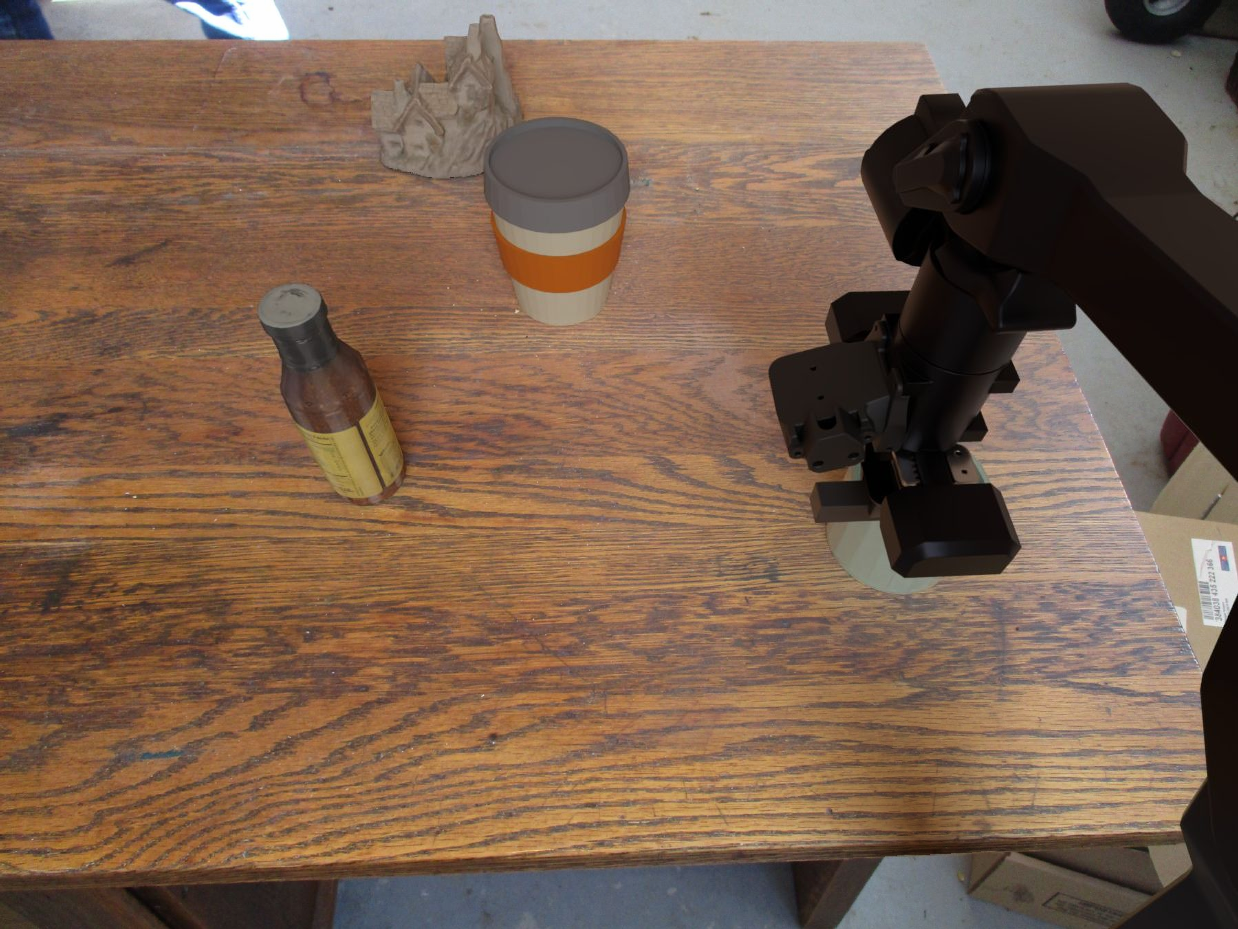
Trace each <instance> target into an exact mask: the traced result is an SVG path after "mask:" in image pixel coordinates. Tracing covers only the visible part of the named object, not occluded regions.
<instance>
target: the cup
mask: <svg viewBox="0 0 1238 929" xmlns="http://www.w3.org/2000/svg"><path fill="white" fill-rule="evenodd" d="M958 444H960V442H958ZM971 456H972V459H973V462H974V464H975V467H976V470H977V473H978V475H979V481H978V482H977V483H991V480H990V477H989V476H988V473H987V472H986V471H985V470H986V469H984V467H983V465H982V463H981V462H980V460H979V459H977V457H975V455H974V454H973V453H971ZM856 480H860V463H859V464H857V465H854V466H850V467H847V469H846V472H845V474H844V477H843V479H842V481H856ZM825 532H826V539H827V544H828V546H829V549H830V551H831V553H832V556H833V557H834V559H835V560H836V561H837V563H838V564H839V566H841V568H842V569H843V570H844V571H845V572H846V573H847V574H849V576H851V577H852V578H853V579H855V580H856V581H858V582H859V583H861V584H862V585H864V586H866V587H868V588H871V589H873V590H876V591H878V592H882V593H886V594H892V595H912V594H918V593H921V592H925V591H927V590H929V589H931V588H932V587H934V586H936V585H937V584H939V583H940V582H941V581H942V580H943V579H944V577H924V578H903V577H902V576H900V575H899V574H897V573H896V572H895V571H893V570H892V569H891V567H890V563H889V560H888V556H887V552H886V549H885V545H884V541H883V537H882V534H881V530H880V521H859V522H833V523H826V528H825Z"/></svg>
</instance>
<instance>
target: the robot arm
mask: <svg viewBox="0 0 1238 929" xmlns="http://www.w3.org/2000/svg"><path fill="white" fill-rule="evenodd" d="M1188 153H1189V143H1188V140H1187V138H1186V136H1185V135H1184V133H1183V131H1181V130H1180V128H1179V127H1178V126H1177V125H1176V124H1175V123H1174V121H1173V120H1172V119H1171V118H1170V116H1168V114H1166V112H1165V111H1164V110H1163V108H1161V106H1160V105H1159V104H1158V103H1157V102H1156V100H1155V99H1154V98H1153V97H1152V96H1151V95H1150V94H1149V93H1148V92H1147V90H1145V89H1144V88H1143V87H1142V86H1139V85H1136V84H1133V83H1130V82H1103V83H1079V84H1078V83H1077V84H1055V85H1028V86H1027V85H1026V86H1025V85H1024V86H1003V87H1002V86H1001V87H1000V86H999V87H982V88H978V89H976V90H974V92H973V93H972V94H971V96H970V98H969V102H968V103H967V105H966V104H965V102H964V100H963V98H962V97H961V95H960V94H959V93H958V92H953V93H952V92H951V93H926V94H925V93H924V94H921V95H920V96H919V98H918V100H917V103H916V107H915V109H914V113H913V114H910V115H908V116H906V117H904V118H901V119H900V120H898V121H896V122H895V123H893V124H892V125H890V126H889V127H887V128H886V129H885V130H884V131H883V132H881V134H879V136H878V137H877V138H876V139H875V140H874V141H873V142H872V144H871V146H870V147H869V148H867V149H866V150H865V151H864V154H863V156H862V159H861V163H860V164H861V165H860V170H859V172H860V177H861V183H862V185H863V187H864V189H865V191H866V194H867V196H868V199H869V201H870V204H871V206H872V208H873V211H874V213H875V215H876V217H877V219H878V220H877V221H878V222H879V224H880V227H881V230H882V231H883V234H884V236H885V239H886V241H887V243H888V246H889V248H890V250H891V253H892V255H893V257H894V259H895V260H896V261H897V262H901V263H903V264H905V265H909V266H911V267H915V268H919V269H918V272H917V274H916V276H915V279H914V281H913V284H912V286H911V288H910V289H906V290H905V289H903V290H902V289H901V290H899V289H898V290H865V291H864V290H862V291H848V292H846V293H844V294H843V295H841V296H840V297H838V298H837V299H835V300H833V301H832V302H830V305H829V308H828V310H827V313H826V318H825V321H824V328H825V332H826V335H827V338H828V341H829V343H828V344H825V345H821V346H817V347H812V348H810V349H805V350H802V351H801V350H800V351H797V352H793V353H790V354H785V355H783V356H780V357H777V358H776V359H774V360H773V361H772V362H771V364H770V365H769V367H768V372H767V375H768V380H769V385H770V390H771V395H772V399H773V403H774V409H775V413H776V417H777V420H778V423H779V428H780V431H781V435H782V438H783V440H784V444H785V448H786V449H787V454H788V457H789V459H792V460H801V459H802V460H805V461H806V464H807V469H808V470H809V472H812V473H817V474H823V473H827V472H832V471H835V470H841V469H844V468H848V467H850V466H854V465H857V464H859V463H860V480H865V482H866V485H867V489H868V493H869V496H870V498H871V499H870V503H869V510H868V514H869V517H871V518H874V517H880V530H881V534H882V537H883V541H884V545H885V549H886V552H887V556H888V560H889V563H890V567H891V569H892V570H893V571H895V572H896V573H897V574H899V575H900V576H902V577H903V578H924V577H943V578H945V577H946V578H947V577H968V576H970V577H971V576H994V575H995V576H996V575H1001V574H1002V573H1003V572H1004V571H1005V570H1006V568H1007V567H1008V566H1009V565H1010V564H1011V562H1012V561H1013V560H1014V559H1015V557H1016V556H1017V555H1018V553H1019V552H1020V551H1021V549H1022V548H1023V547H1022V546H1023V545H1022V544H1021V541H1020V539H1019V536H1018V534H1017V531H1016V528H1015V525H1014V522H1013V520H1012V518H1011V514H1010V512H1009V509H1008V506H1007V504H1006V501H1005V499H1004V496H1003V494H1002V491H1001V490H999V488H997V487H996V486H995V485H994V484H993V483H992V482H990V483H977V482H978V481H979V475H978V473H977V470H976V467H975V464H974V462H973V459H972V456H971V454H972V452H971V451H970V450H969V449H968V447H967V446H964V445H963V444H961V443H982V442H983V440H984V438H985V436H987V433H988V432H989V428H988V426H987V422H986V421H985V418H984V415H983V412H982V408H983V407H984V405H985V404H986V402H987V400H988V398H989V397H990V396H991V395H995V394H997V395H998V394H1013V393H1014V391H1015V389H1017V386H1018V385H1019V383H1020V382H1021V378H1020V375H1019V373H1018V372H1017V369H1016V367H1015V364H1014V362H1013V360H1012V359H1013V357H1014V356H1015V354H1016V352H1017V350H1018V348H1020V346H1021V344H1022V342H1023V341H1024V339H1025V337H1026V336H1027V334H1028V333H1032V332H1033V333H1034V332H1049V331H1050V332H1053V331H1064V330H1065V331H1067V330H1071V329H1073V328H1075V326H1076V324H1077V321H1078V317H1077V315H1078V314H1077V307H1078V309H1079V310H1081V312H1083V313H1084V315H1085V316H1086V317H1087V318H1088V319H1089V320H1090V321H1091V323H1092V324H1094V326H1095V327H1096V328H1097V329H1098V330H1099V331H1100V332H1101V334H1103V336H1104V337H1105V338H1106V339H1107V340H1108V341H1109V343H1111V345H1112V346H1113V347H1114V348H1115V349H1116V350H1117V351H1118V353H1119V354H1120V355H1121V356H1122V357H1123V358H1124V359H1125V360H1126V361H1127V362H1128V363H1129V365H1130V366H1131V367H1132V368H1133V369H1134V371H1136V372H1137V374H1138V375H1139V376H1140V377H1141V378H1142V379H1143V380H1144V381H1145V383H1147V384H1148V386H1149V387H1150V388H1151V389H1152V391H1154V392H1155V393H1156V395H1158V397H1159V398H1160V399H1161V400H1162V402H1164V404H1165V405H1166V406H1167V407H1168V408H1169V409H1170V410H1171V411H1172V412H1173V414H1174V415H1175V416H1176V417H1177V418H1178V419H1179V420H1180V422H1182V424H1183V425H1184V426H1185V427H1186V428H1187V429H1188V430H1189V431H1190V432H1191V433H1192V435H1193V436H1194V437H1195V438H1196V439H1197V440H1198V441H1199V442H1200V444H1202V445H1203V447H1204V448H1205V449H1206V450H1207V451H1208V452H1209V454H1211V456H1212V457H1213V458H1214V459H1215V460H1216V461H1217V462H1218V464H1220V466H1221V467H1222V468H1223V469H1224V470H1225V471H1226V472H1227V473H1228V474H1229V475H1230V477H1231V478H1232V479H1233V480H1234V481H1235V482H1236V483H1237V484H1238V219H1237V218H1235V217H1234V216H1233V215H1231V214H1230V213H1229V212H1227V211H1226V210H1224V208H1222V207H1220V205H1218V204H1217V203H1215V202H1214V201H1213V200H1211V199H1210V198H1209V197H1207V196H1206V195H1205V194H1203V193H1202V192H1201V190H1200V189H1199V188H1198V187H1197V186H1196V184H1195V183H1194V182H1193V181H1192V180H1191V178H1190V177H1189V176H1188V175H1187V170H1188ZM958 443H959V444H958ZM1200 680H1201V681H1200V686H1199V696H1200V697H1199V698H1200V709H1201V720H1202V722H1201V723H1202V732H1203V733H1202V734H1203V744H1204V757H1205V768H1206V777H1205V778H1204V780H1203V781H1202V783H1201V785H1200V786H1199V788H1198V789H1197V791H1196V792H1195V794H1194V795H1193V797H1192V798H1191V800H1190V801H1189V803H1188V805H1187V806H1186V807H1185V809H1184V810H1183V813H1182V814H1181V818H1180V821H1179V828H1180V830H1181V834H1182V837H1183V841H1184V843H1185V846H1186V849H1187V852H1188V855H1189V859H1190V862H1191V865H1190V867H1189V868H1188V869H1187V870H1186V871H1185V872H1183V873H1182V874H1181V875H1179V876H1178V877H1177V878H1175V879H1174V880H1173V881H1171V882H1169V883H1168V884H1167V885H1166V886H1164V887H1163V888H1162V889H1160V890H1159V891H1158V892H1156V893H1155V894H1153V895H1152V896H1151V897H1149V898H1148V899H1146V900H1145V901H1143V903H1141V904H1140V905H1138V906H1137V907H1136V908H1134V909H1133V910H1131V911H1130V912H1129V913H1128V914H1126V915H1125V916H1124V917H1122V918H1120V919H1119V920H1118V921H1116V922H1115V923H1114V924H1113V925H1111V926H1110V927H1109V928H1108V929H1238V593H1237V594H1236V597H1235V599H1234V601H1233V602H1232V605H1231V608H1230V610H1229V613H1228V614H1227V617H1226V619H1225V621H1224V624H1223V626H1222V629H1221V630H1220V633H1219V635H1218V638H1217V640H1216V642H1215V645H1214V647H1213V649H1212V651H1211V653H1210V655H1209V658H1208V660H1207V662H1206V665H1205V667H1204V669H1203V672H1202V675H1201V679H1200Z"/></svg>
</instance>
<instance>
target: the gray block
mask: <svg viewBox="0 0 1238 929" xmlns="http://www.w3.org/2000/svg"><path fill="white" fill-rule="evenodd" d="M870 499H871V498H870V496H869V493H868V489H867V485H866V482H865V480H856V481H843V480H831V481H829V480H828V481H815V483H814V485H813V488H812V491H811V492H810V496H809V503H810V507H811V511H812V516H813V522H814V523H815V524H827V523H833V522H859V521H880V517H874V518H871V517H869V514H868V510H869V503H870Z"/></svg>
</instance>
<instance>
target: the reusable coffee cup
mask: <svg viewBox="0 0 1238 929" xmlns="http://www.w3.org/2000/svg"><path fill="white" fill-rule="evenodd" d="M628 158H629V156H628V151H627V149H626V146H625V144H624V143H623V141H622V140H621V139H620V138H619V137H618V136H617V135H616V134H615V133H613V132H612V131H611V130H610V129H608V128H606V127H604V126H602V125H600V124H598V123H595V122H592V121H589V120H587V119H586V120H585V119H581V118H577V117H570V116H569V117H567V116H546V117H537V118H532V119H529V120H523V122H521V123H518V124H516V125H513V126H511V127H509V128H507V129H506V130H504V131H502V132H501V133H499V134H498V135H497V136H496V137H495V138H494V139H493V140H492V141H491V142H490V144H489V145H488V146H487V148H486V151H485V153H484V162H483V170H484V173H483V194H484V199H485V201H486V203H487V206H489V208H490V209H491V210H490V224H491V228H492V231H493V235H494V238H495V241H496V242H495V243H496V245H497V249H498V253H499V255H500V259H501V260H500V261H501V262H502V266H503V267H504V269H505V271H506V273H507V274H508V275H509V276H510V279H511V282H512V285H513V289H514V292H515V296H516V300H517V303H518V305H519V307H520V309H521V311H523V312H524V314H526V315H527V316H528V317H529V318H531V319H533V320H535V321H537V322H538V323H541V324H544V325H545V324H546V325H549V326H555V327H567V326H573V325H579V324H582V323H585V322H587V321H590V320H591V319H593V318H594V317H595V316H598V314H600V312H601V311H602V310H603V309H604V308H605V306H606V305H607V302H608V298H609V293H610V287H611V281H612V276H613V273H614V271H615V269H616V267H617V266H618V264H619V260H620V255H621V251H622V245H623V239H624V235H625V234H624V233H625V228H626V222H627V208H626V206H625V205H626V204H627V202H628V200H629V199H630V198H629V197H630V193H631V179H630V167H629V159H628Z"/></svg>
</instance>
